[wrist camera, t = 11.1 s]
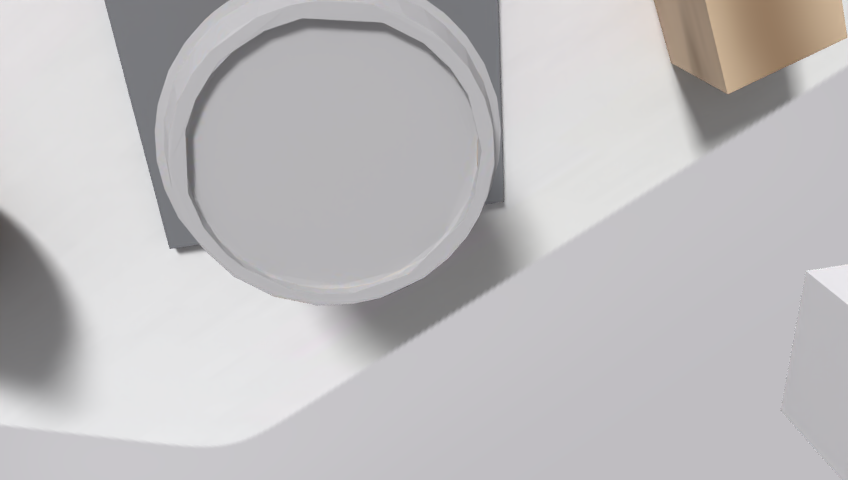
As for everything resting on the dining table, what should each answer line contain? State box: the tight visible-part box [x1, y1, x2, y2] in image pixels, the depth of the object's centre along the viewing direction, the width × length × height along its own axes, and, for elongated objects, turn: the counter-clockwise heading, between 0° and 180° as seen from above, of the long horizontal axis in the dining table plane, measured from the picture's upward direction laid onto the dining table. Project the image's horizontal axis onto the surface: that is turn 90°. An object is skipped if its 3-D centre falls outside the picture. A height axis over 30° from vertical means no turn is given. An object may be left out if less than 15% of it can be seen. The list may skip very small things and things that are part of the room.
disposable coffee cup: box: [155, 0, 501, 305], centre depth 26 cm, size 10×10×12 cm
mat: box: [105, 0, 504, 249], centre depth 31 cm, size 15×15×1 cm
